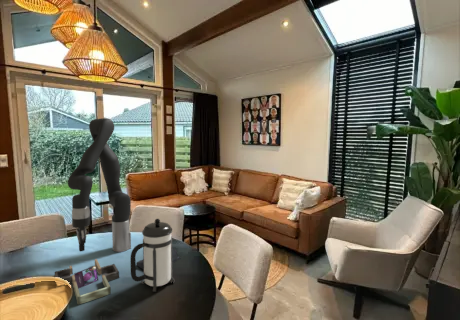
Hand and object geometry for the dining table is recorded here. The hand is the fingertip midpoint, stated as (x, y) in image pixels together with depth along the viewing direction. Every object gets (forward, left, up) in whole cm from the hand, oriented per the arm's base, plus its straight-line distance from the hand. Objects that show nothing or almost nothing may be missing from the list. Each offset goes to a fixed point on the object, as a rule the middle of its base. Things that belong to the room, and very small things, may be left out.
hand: (81, 250), depth 127 cm
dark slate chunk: (-33, +14, -10) cm, 38 cm away
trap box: (-1, +14, -10) cm, 17 cm away
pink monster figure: (+1, +14, -10) cm, 17 cm away
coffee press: (-25, +33, -10) cm, 42 cm away
